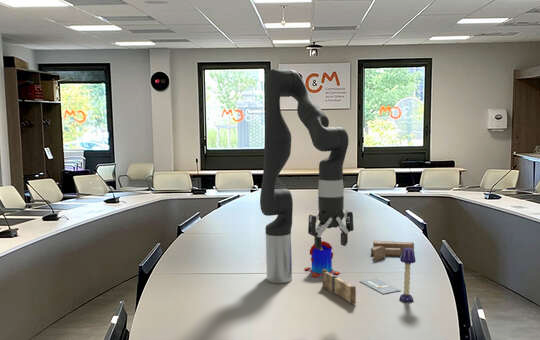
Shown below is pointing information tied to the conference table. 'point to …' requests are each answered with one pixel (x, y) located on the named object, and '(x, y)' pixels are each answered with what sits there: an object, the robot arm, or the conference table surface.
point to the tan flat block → (327, 280)
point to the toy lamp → (407, 273)
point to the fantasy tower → (321, 260)
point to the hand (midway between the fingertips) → (331, 247)
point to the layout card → (380, 286)
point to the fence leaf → (344, 289)
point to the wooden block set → (389, 248)
